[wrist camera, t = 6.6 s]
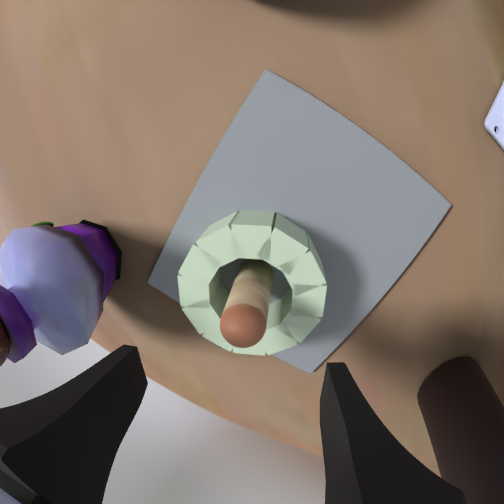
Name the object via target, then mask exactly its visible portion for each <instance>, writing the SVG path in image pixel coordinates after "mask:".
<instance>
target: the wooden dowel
mask: <svg viewBox="0 0 504 504" xmlns="http://www.w3.org/2000/svg"><path fill="white" fill-rule="evenodd" d="M272 279H273V270H272V268H271V266H270V264H269V263H268V262H266V261H264V260H262V259H247V260H245V261H244V262H243V263H242V264H241V265H240V267H239V270H238V273H237V276H236V278H235V281H234V284H233V286H232V289H231V292H230V294H229V297H228V300H227V302H226V305H225V308H224V311H223V313H222V316H221V319H220V331H221V334H222V336H223V338H224V339H225V340H226V341H227V342H228V343H229V344H231V345H232V346H235V347H238V348H248V347H252V346H254V345H256V344H257V343H258V342H259V341H260V340H261V339H262V338H263V336H264V334H265V331H266V326H267V318H268V311H269V303H270V295H271V287H272Z"/></svg>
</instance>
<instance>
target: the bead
mask: <svg viewBox="0 0 504 504" xmlns="http://www.w3.org/2000/svg"><path fill="white" fill-rule="evenodd" d="M238 258H246V259H262V260H264V261H266V262H268V263H269V264H271V265H272V266H274V267H276V268H277V269H279V270H281V271H282V272H283V273H284V275H285V277H286V279H287V280H288V282H289V284H290V288H289V289H288V290H287V292H286V293H285V294H284V296H283V297H282V298H281V299H280V300H277V301H275V302H272V303H270V304H269V311H268V318H267V326H266V331H265V334H264V336H263V338H262V339H261V340H260V341H259V342H258V343H257V344H256V345H254V346H252V347H248V348H238V347H235V346H232V345H231V344H229V343H228V342H227V341H226V340H225V339H224V338H223V336H222V334H221V331H220V319H221V316H222V313H223V311H224V308H225V305H226V302H227V300H228V297H229V293H228V291H227V290H226V288H225V286H224V285H223V283H222V282H221V277H220V267H221V266H223V265H225V264H228V263H230V262H232V261H234V260H236V259H238ZM178 273H179V274H178V276H177V277H178V287H179V297H180V306H183V307H182V310H183V312H184V313H185V315H186V316H187V317H188V319H189V320H190V322H191V323H192V324H193V326H194V327H195V328H196V330H197V331H198V333H199V334H202V333H203V335H202V337H204V338H206V339H208V340H209V341H211V342H213V343H215V344H217V345H218V346H220V347H222V348H224V349H226V350H228V351H231V350H232V349H233V353H241V354H251V355H263V356H265V354H266V353H267V354H268V355H271V354H273V353H276V352H279V351H282V350H285V349H288V348H290V347H293V346H296V345H298V342H300V343H301V342H302V341H303V340H304V339H305V338H306V336H307V335H308V334H309V333H310V332H311V331H312V330H313V329H314V328H315V326H316V325H317V324H318V323H319V322H320V321H321V317H323V310H324V304H325V297H326V290H327V284H326V278H325V274H324V269H323V265H322V261H321V259H320V257H319V255H318V253H317V250H316V248H315V246H314V244H313V242H312V240H311V238H310V236H309V234H308V233H307V234H306V231H305V230H304V229H302V228H301V227H299V226H298V225H296V224H294V223H293V222H291V221H290V220H288V219H286V218H285V217H283V216H282V215H280V214H279V213H277V214H276V216H275V217H274V212H267V211H246V210H240V212H239V213H238V211H237V212H235V213H233V214H231V215H229V216H227V217H225V218H223V219H221V220H219V221H218V222H216V223H214V224H212V225H210V226H209V227H208V228H207V229H206V230H205V231H204V232H203V234H202V235H201V236H200V237H199V238H198V239H197V241H196V242H195V243H194V244H193V246H192V248H191V249H190V251H189V253H188V255H187V257H186V259H185V260H184V262H183V264H182V266H181V268H180V270H179V272H178Z"/></svg>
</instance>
